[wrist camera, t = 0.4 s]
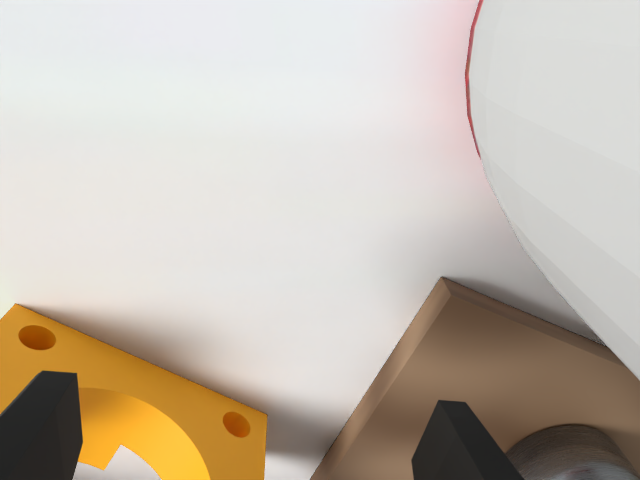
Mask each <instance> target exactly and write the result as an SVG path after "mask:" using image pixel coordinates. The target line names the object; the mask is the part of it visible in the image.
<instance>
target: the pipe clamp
mask: <svg viewBox="0 0 640 480" xmlns="http://www.w3.org/2000/svg"><path fill="white" fill-rule="evenodd" d="M43 370H44V371H57V372H71V373H77V378H78V390H79V401H80V412H81V424H82V435H83V444H82V448H81V451H80V455H79V458H78V462H81V463H85V464H89V465H92V466H94V467H97V468H99V469H102V470H104V469H105V468H106V466H107V465H108V463H109V462H110V460H111V458H112V457H113V455H114V454H115V452H116V451H117V449H118V448H119V446H120V445H123V446H125V447H126V448H128V449H130V450H131V451H133V452H134V453H136V454H137V455H138V456H140V457H141V458H142V459H143V460H145V461H146V462H147V463H148V464H149V465H150V466H151V467H152V468H153V469H154V470H155V471H156V473H157V474H158V475H159V477H160V478H161V479H162V480H264V470H265V451H266V431H267V414H264V413H262V412H260V411H258V410H255V409H253V408H251V407H249V406H246V405H244V404H242V403H240V402H237V401H235V400H233V399H231V398H228V397H226V396H224V395H221V394H219V393H217V392H215V391H212V390H210V389H208V388H206V387H203V386H201V385H199V384H197V383H194V382H192V381H190V380H188V379H185V378H183V377H181V376H179V375H176V374H174V373H172V372H169V371H167V370H165V369H163V368H160V367H158V366H156V365H154V364H151V363H149V362H147V361H145V360H142V359H140V358H138V357H136V356H133V355H131V354H129V353H127V352H124V351H122V350H120V349H117V348H115V347H113V346H111V345H108V344H106V343H104V342H102V341H99V340H97V339H95V338H93V337H90V336H88V335H86V334H84V333H81V332H79V331H77V330H75V329H72V328H70V327H68V326H65V325H63V324H61V323H59V322H56V321H54V320H52V319H50V318H47V317H45V316H43V315H41V314H38V313H36V312H34V311H32V310H29V309H27V308H25V307H23V306H20V305H18V304H16V303H15V304H14V306H13V307H12V308H11V309H10V310H9V311H8V312H7V313H6V314H5V315H4V316H3V317H2V319H1V320H0V414H1V413H2V412H3V411H4V410H5V409H6V407H7V406H8V405H9V404H10V403H11V402H12V401H13V400H14V399H15V398H16V397H17V396H18V394H19V393H20V392H21V391H22V390H23V389H24V388H25V387H26V386H27V385H28V384H29V382H30V381H31V380H32V379H33V378H34V377H35V376H36V375H37V374H38V373H40V372H41V371H43Z"/></svg>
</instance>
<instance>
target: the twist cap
mask: <svg viewBox="0 0 640 480" xmlns="http://www.w3.org/2000/svg"><path fill="white" fill-rule="evenodd" d="M505 455H506V456H507V458H508V459H509V460H510V461H511V463H512V464H513V465H514V467H515V468H516V469H517V471H518V472H519V473H520V474H521V476H522V477H523V478H524V480H640V475H639V473H638V472H637V471H636V469H635V468H634V467H633V465H632V464H631V463H630V461H629V460H628V459H627V457H626V456H625V455H624V453H623V452H622V451H621V449H620V448H619V447H618V445H617V444H616V443H615V441H614V440H613V439H612V438H611V437H610V436H608V435H607V434H605V433H603V432H601V431H599V430H597V429H593V428H590V427H584V426H561V427H555V428H551V429H547V430H543V431H541V432H538V433H535V434H533V435H531V436H529V437H527V438H525V439H523V440H521V441H520V442H518V443H517V444H516V445H514V446H513V447H512V448H510V449H509V450H508V451H507V452H506V453H505Z"/></svg>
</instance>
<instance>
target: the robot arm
mask: <svg viewBox="0 0 640 480" xmlns="http://www.w3.org/2000/svg"><path fill="white" fill-rule="evenodd" d="M82 444H83V435H82V424H81V412H80V401H79V390H78V378H77V373H71V372H57V371H44V370H43V371H41V372H40V373H38V374H37V375H36V376H35V377H34V378H33V379H32V380H31V381H30V382H29V384H28V385H27V386H26V387H25V388H24V389H23V390H22V391H21V392H20V393H19V394H18V396H17V397H16V398H15V399H14V400H13V401H12V402H11V403H10V404H9V405H8V406H7V407H6V409H5V410H4V411H3V412H2V413H1V414H0V480H72V479H73V475H74V472H75V469H76V465H77V462H78V458H79V455H80V451H81V448H82ZM411 462H412V470H413V478H414V480H524V478H523V477H522V476H521V474H520V473H519V472H518V471H517V469H516V468H515V467H514V465H513V464H512V463H511V461H510V460H509V459H508V458H507V456H506V455H505V454H504V452H503V451H502V450H501V448H500V447H499V446H498V444H497V443H496V442H495V440H494V439H493V438H492V436H491V435H490V434H489V432H488V431H487V430H486V428H485V427H484V426H483V424H482V423H481V422H480V420H479V419H478V418H477V416H476V415H475V414H474V412H473V411H472V410H471V408H470V407H469V406H468V404H467V403H466V402H461V401H447V400H438V402H437V404H436V406H435V408H434V411H433V413H432V415H431V417H430V419H429V422H428V424H427V426H426V428H425V431H424V433H423V435H422V437H421V439H420V442H419V444H418V446H417V448H416V450H415V453H414V455H413V457H412V459H411Z"/></svg>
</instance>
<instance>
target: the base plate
mask: <svg viewBox="0 0 640 480" xmlns="http://www.w3.org/2000/svg"><path fill="white" fill-rule="evenodd" d="M438 400H447V401H461V402H466V403H467V404H468V406H469V407H470V408H471V410H472V411H473V412H474V414H475V415H476V416H477V418H478V419H479V420H480V422H481V423H482V424H483V426H484V427H485V428H486V430H487V431H488V432H489V434H490V435H491V436H492V438H493V439H494V440H495V442H496V443H497V444H498V446H499V447H500V448H501V450H502V451H503V452H504V454H505V453H506V452H507V451H508V450H509V449H510V448H512V447H513V446H514V445H516V444H517V443H518V442H520V441H521V440H523V439H525V438H527V437H529V436H531V435H533V434H535V433H538V432H541V431H543V430H547V429H551V428H555V427H561V426H584V427H590V428H593V429H597V430H599V431H601V432H603V433H605V434H607V435H608V436H610V437H611V438H612V439H613V440H614V441H615V443H616V444H617V445H618V447H619V448H620V449H621V451H622V452H623V453H624V455H625V456H626V457H627V459H628V460H629V461H630V463H631V464H632V465H633V467H634V468H635V469H636V471H637V472H638V473H639V475H640V380H639V379H638V378H637V377H636V376H635V375H634V374H633V373H632V372H631V371H630V370H629V369H628V368H627V366H626V365H625V364H624V363H623V362H622V361H621V360H620V359H619V358H618V357H617V356H616V355H615V354H614V353H613V352H612V351H611V349H610V348H608V347H606V346H603V345H601V344H599V343H596V342H594V341H592V340H589V339H587V338H584V337H582V336H580V335H577V334H575V333H573V332H570V331H568V330H566V329H563V328H561V327H559V326H556V325H554V324H551V323H549V322H547V321H544V320H542V319H540V318H537V317H535V316H533V315H530V314H528V313H525V312H523V311H521V310H518V309H516V308H514V307H511V306H509V305H507V304H504V303H502V302H499V301H497V300H495V299H492V298H490V297H488V296H485V295H483V294H481V293H478V292H476V291H473V290H471V289H469V288H466V287H464V286H462V285H459V284H457V283H455V282H452V281H450V280H447V279H445V278H443V277H441V278H440V279H439V281H438V282H437V284H436V285H435V287H434V288H433V290H432V291H431V293H430V295H429V296H428V298H427V299H426V301H425V302H424V304H423V305H422V307H421V308H420V310H419V312H418V313H417V315H416V316H415V318H414V319H413V321H412V322H411V324H410V325H409V327H408V329H407V330H406V332H405V333H404V335H403V336H402V338H401V339H400V341H399V342H398V344H397V346H396V347H395V349H394V350H393V352H392V353H391V355H390V356H389V358H388V360H387V361H386V363H385V364H384V366H383V367H382V369H381V370H380V372H379V373H378V375H377V377H376V378H375V380H374V381H373V383H372V384H371V386H370V387H369V389H368V390H367V392H366V394H365V395H364V397H363V398H362V400H361V401H360V403H359V404H358V406H357V407H356V409H355V411H354V412H353V414H352V415H351V417H350V418H349V420H348V421H347V423H346V424H345V426H344V428H343V429H342V431H341V432H340V434H339V435H338V437H337V438H336V440H335V441H334V443H333V445H332V446H331V448H330V449H329V451H328V452H327V454H326V455H325V457H324V458H323V460H322V462H321V463H320V465H319V466H318V468H317V469H316V471H315V472H314V474H313V475H312V477H311V479H310V480H414V478H413V470H412V462H411V459H412V457H413V455H414V453H415V450H416V448H417V446H418V444H419V442H420V439H421V437H422V435H423V433H424V431H425V428H426V426H427V424H428V422H429V419H430V417H431V415H432V413H433V411H434V408H435V406H436V404H437V402H438Z"/></svg>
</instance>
